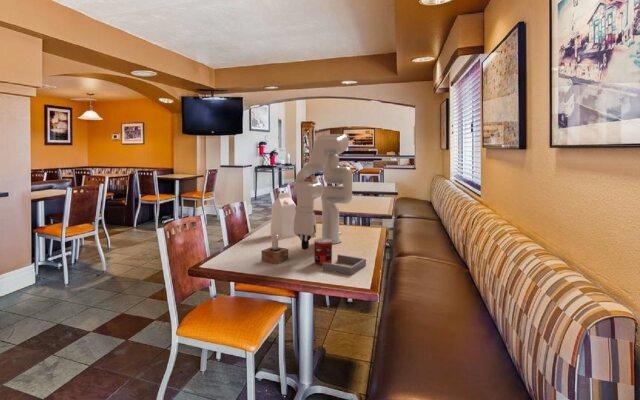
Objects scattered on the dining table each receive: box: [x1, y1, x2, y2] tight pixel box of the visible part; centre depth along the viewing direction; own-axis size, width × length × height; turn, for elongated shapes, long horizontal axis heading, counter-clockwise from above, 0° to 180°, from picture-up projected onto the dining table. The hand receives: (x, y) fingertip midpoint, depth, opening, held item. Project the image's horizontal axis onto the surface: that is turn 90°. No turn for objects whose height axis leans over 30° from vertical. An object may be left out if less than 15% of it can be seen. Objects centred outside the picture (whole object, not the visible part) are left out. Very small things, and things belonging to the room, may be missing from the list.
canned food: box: [313, 237, 333, 267], centre depth 168 cm, size 8×8×11 cm
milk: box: [269, 192, 298, 240], centre depth 222 cm, size 12×12×26 cm
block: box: [260, 246, 290, 265], centre depth 174 cm, size 9×9×5 cm
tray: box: [321, 254, 367, 276], centre depth 163 cm, size 15×14×3 cm
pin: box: [271, 234, 279, 252], centre depth 173 cm, size 3×3×12 cm
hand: (305, 248), depth 172 cm, fingers closed
